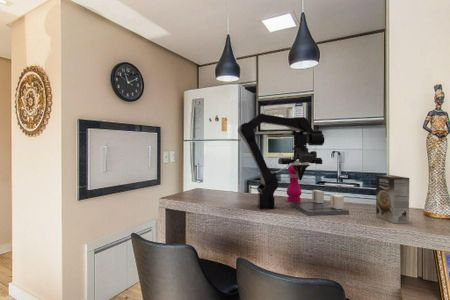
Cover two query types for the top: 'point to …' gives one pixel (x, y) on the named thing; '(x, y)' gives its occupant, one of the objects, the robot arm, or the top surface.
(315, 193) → the fader plain
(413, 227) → the top surface
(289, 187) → the pepper mill
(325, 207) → the mixer panel
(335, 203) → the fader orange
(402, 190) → the coffee box
